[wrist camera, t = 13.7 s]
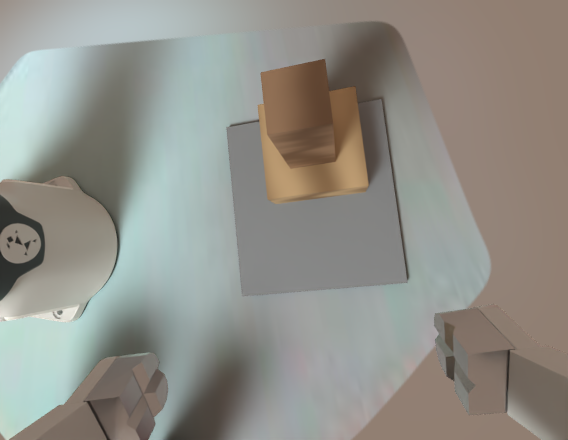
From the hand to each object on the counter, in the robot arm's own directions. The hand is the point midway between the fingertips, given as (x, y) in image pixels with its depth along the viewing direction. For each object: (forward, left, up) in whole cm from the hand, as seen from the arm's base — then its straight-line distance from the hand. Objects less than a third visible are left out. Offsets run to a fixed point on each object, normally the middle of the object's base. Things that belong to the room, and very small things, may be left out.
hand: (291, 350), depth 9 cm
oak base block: (0, +13, -25) cm, 28 cm away
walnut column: (0, +13, -21) cm, 25 cm away
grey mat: (-1, +8, -26) cm, 27 cm away
